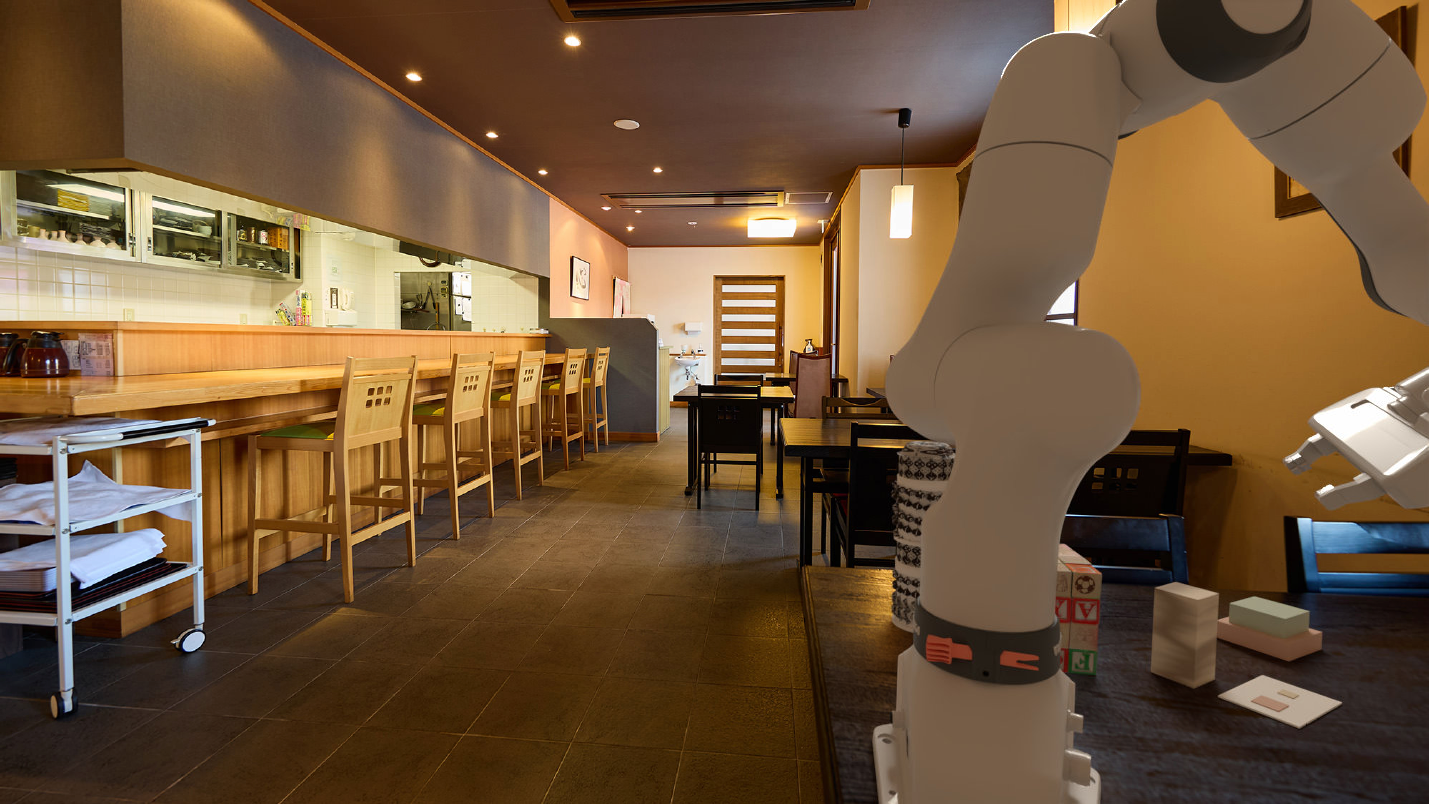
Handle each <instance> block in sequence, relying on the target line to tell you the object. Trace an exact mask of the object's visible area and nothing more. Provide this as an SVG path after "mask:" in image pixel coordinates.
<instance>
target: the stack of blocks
mask: <svg viewBox="0 0 1429 804" xmlns="http://www.w3.org/2000/svg"><path fill="white" fill-rule="evenodd" d="M1102 581H1103V574H1102V572H1101V571H1099V570H1098V569H1096V568H1095V567H1094V566H1093V565H1092V563H1091V562H1089V561H1088V560H1087V559H1086V558H1085V557H1083V556H1082V555H1080V554H1079V553H1077V552H1076V551H1075V550H1073V549H1072V548H1071V547H1069V546H1068V545H1067V544H1065V543H1059V555H1058V568H1057V582H1056V602H1055V614H1056V615H1057V616H1058V618H1059V620H1060V632H1061V636H1062V647H1061V650H1060V669H1061V670H1062V672H1063V673H1064V674H1066V673H1067V674H1069V673H1070V674H1079V675H1081V674H1082V675H1091V676H1092V675H1093V676H1096V675H1097V667H1098V655H1099V652H1098V642H1099V641H1098V640H1099V639H1098V638H1099V624H1100V619H1101V618H1100V617H1101V595H1102Z"/></svg>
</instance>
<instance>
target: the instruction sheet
mask: <svg viewBox="0 0 1429 804" xmlns="http://www.w3.org/2000/svg"><path fill="white" fill-rule="evenodd" d="M1217 697H1218V698H1220V699H1222V700H1224V701H1227V702H1229V703H1232V704H1234V705H1237V706H1240V707H1241V708H1245V709H1248V710H1250V711H1252V712H1256V713H1258V714H1261V715H1262V716H1266V717H1269V718H1270V719H1273V720H1276V721H1278V722H1281V723H1283V724H1286V725H1288V726H1291V727H1294V728H1297V729H1299V730H1300V729H1301V728H1304V727H1305V726H1306V724H1307V725H1309V724H1310V723H1312V722H1313V721H1315V720H1317V719H1318V718H1320V717H1322V716H1324V715H1326V714H1327V713H1329V712H1331V711H1332V710H1334V709H1336V708H1339V706H1341V705H1342V704H1343V702H1342V701H1339V700H1337V699H1333V698H1330V697H1328V696H1325V695H1321V694H1319V693H1316V692H1314V691H1311V690H1307V689H1305V688H1302V687H1298V686H1296V685H1292V684H1290V683H1288V682H1284V681H1281V680H1279V679H1276V678H1272V677H1269V676H1267V675H1264V674H1263V675H1262V674H1261V675H1259V676H1257V677H1254V679H1251V680H1249V681H1247V682H1244V683H1241V684H1240V685H1237V686H1236V687H1233V688H1232V689H1229V690H1227V691H1225V692H1223V693H1220V694H1218V695H1217Z"/></svg>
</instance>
